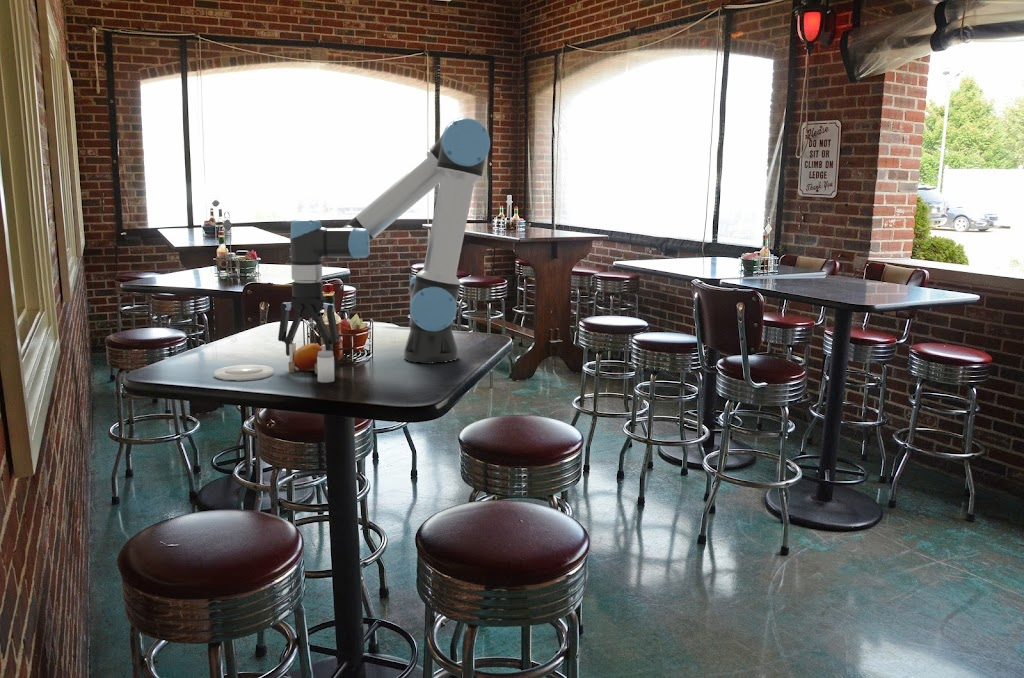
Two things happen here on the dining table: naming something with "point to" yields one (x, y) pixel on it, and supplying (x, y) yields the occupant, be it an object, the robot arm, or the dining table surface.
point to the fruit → (307, 357)
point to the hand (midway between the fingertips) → (309, 368)
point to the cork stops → (292, 367)
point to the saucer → (243, 372)
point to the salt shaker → (325, 366)
